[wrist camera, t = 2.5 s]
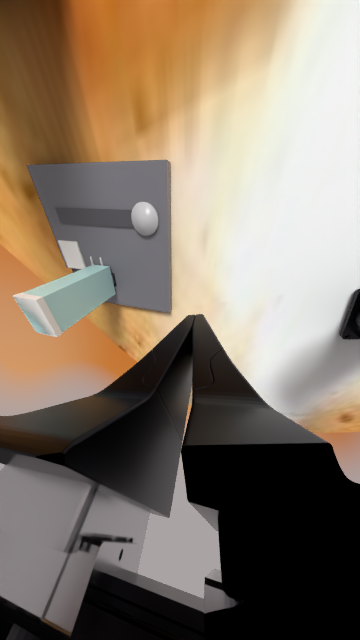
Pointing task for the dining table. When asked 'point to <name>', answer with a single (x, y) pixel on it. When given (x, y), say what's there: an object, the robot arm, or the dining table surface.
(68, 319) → the fader tab
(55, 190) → the console panel
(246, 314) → the dining table surface
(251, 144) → the dining table surface
